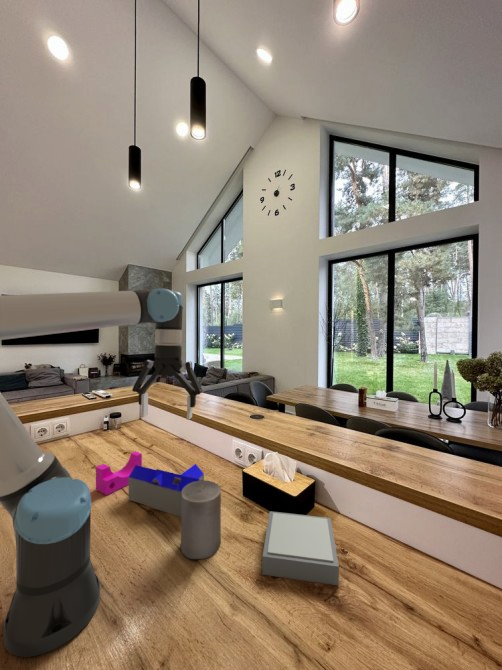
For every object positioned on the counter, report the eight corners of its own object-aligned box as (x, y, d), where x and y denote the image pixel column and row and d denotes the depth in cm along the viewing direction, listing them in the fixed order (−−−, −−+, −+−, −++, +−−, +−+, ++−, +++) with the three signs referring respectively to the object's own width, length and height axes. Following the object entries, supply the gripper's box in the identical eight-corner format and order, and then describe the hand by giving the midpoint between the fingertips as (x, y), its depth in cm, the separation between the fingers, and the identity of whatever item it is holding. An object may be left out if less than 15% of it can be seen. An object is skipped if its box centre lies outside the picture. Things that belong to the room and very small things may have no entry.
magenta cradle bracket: (106, 495, 93) (106, 472, 93) (95, 489, 97) (95, 466, 97) (146, 475, 106) (146, 455, 106) (135, 471, 109) (135, 451, 109)
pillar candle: (202, 526, 78) (203, 471, 78) (228, 543, 72) (229, 483, 72) (172, 547, 71) (172, 486, 71) (198, 568, 65) (199, 501, 65)
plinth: (338, 585, 61) (338, 565, 60) (262, 574, 63) (262, 554, 63) (330, 533, 76) (330, 516, 76) (269, 525, 79) (269, 510, 79)
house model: (127, 500, 90) (127, 468, 90) (159, 478, 104) (159, 450, 104) (195, 521, 81) (195, 486, 81) (221, 494, 95) (221, 463, 94)
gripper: (213, 345, 87) (211, 415, 87) (134, 343, 90) (132, 411, 90) (207, 346, 80) (205, 423, 80) (120, 343, 82) (119, 418, 82)
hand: (166, 417), depth 85 cm, fingers open, 13 cm apart
